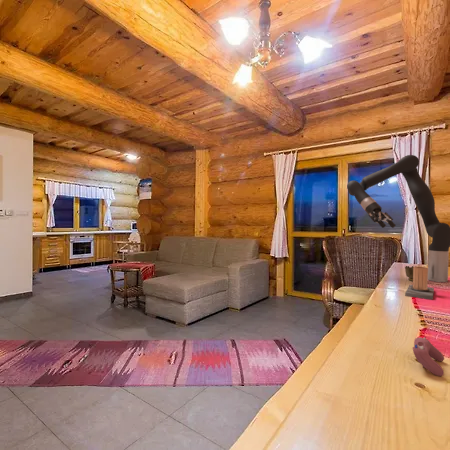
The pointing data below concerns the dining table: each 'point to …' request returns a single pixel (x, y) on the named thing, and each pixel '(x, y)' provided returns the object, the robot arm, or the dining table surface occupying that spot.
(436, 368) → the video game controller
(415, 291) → the shaft stand
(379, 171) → the robot arm
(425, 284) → the copper collar
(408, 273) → the bronze rounded piece
